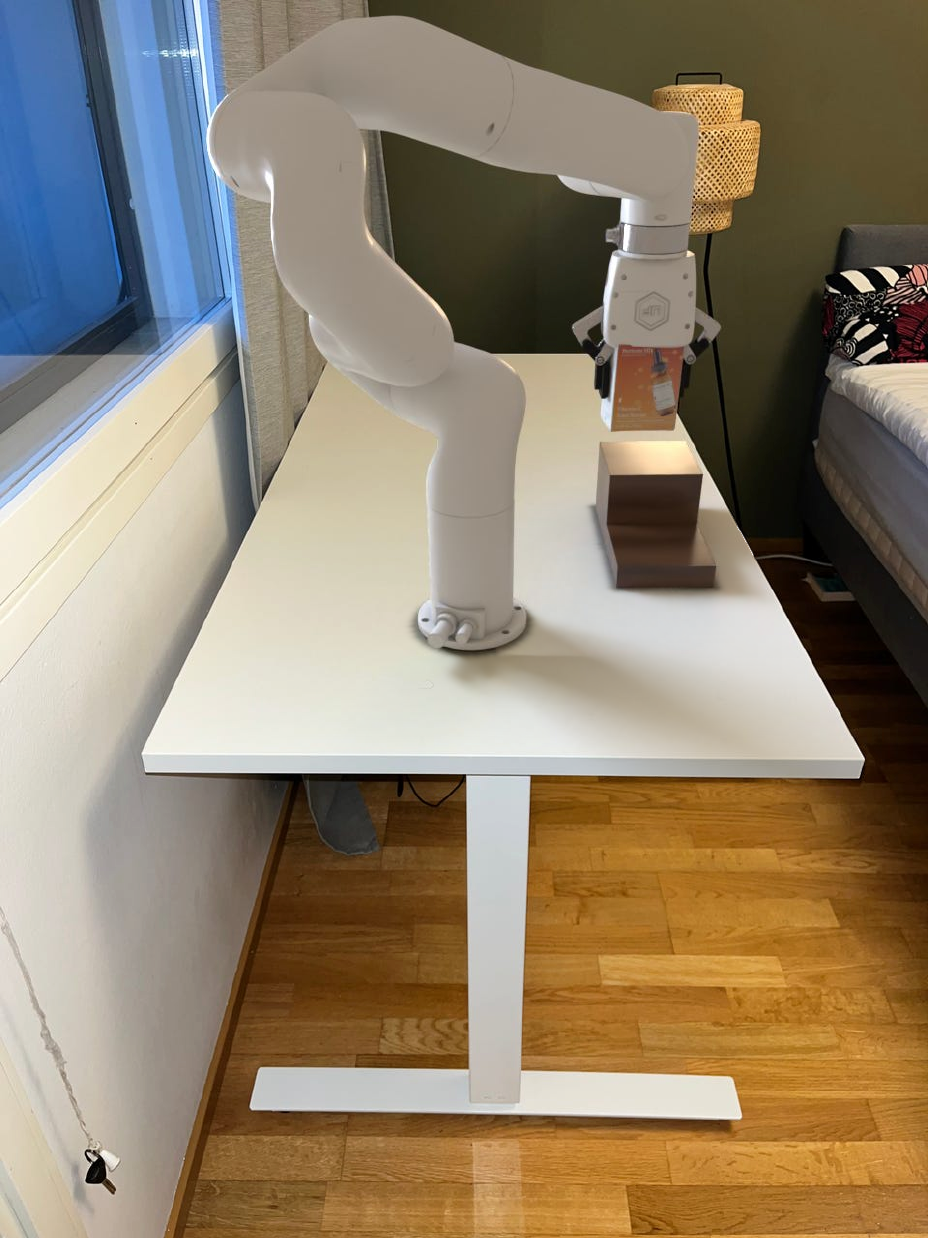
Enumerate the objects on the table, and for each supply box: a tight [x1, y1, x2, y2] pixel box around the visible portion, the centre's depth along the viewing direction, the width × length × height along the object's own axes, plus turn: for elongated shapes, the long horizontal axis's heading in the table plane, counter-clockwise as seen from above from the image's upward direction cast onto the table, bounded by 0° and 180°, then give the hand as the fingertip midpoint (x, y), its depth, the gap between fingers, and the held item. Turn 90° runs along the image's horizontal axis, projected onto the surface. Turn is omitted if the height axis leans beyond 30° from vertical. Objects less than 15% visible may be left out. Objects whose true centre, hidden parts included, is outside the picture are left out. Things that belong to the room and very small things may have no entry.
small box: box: [600, 344, 684, 433], centre depth 112 cm, size 8×6×10 cm
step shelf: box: [595, 440, 717, 589], centre depth 125 cm, size 24×12×10 cm, turn 179°
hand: (640, 394), depth 113 cm, fingers closed on small box, 8 cm apart
